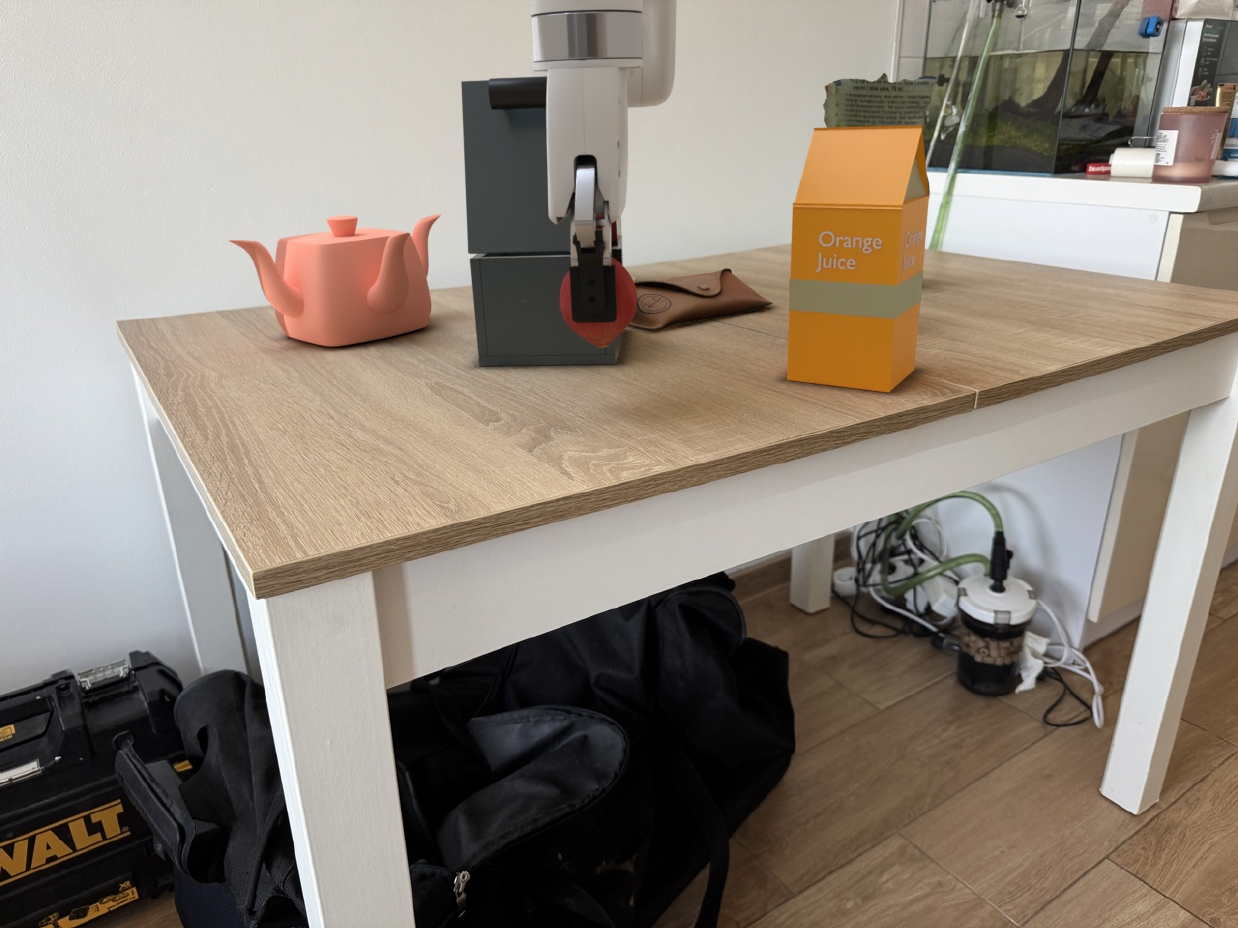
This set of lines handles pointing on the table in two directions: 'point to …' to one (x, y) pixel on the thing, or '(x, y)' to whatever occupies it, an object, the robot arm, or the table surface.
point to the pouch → (878, 102)
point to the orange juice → (858, 257)
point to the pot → (347, 282)
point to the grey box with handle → (508, 168)
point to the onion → (603, 331)
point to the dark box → (528, 312)
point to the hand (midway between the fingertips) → (598, 308)
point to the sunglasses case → (693, 299)
